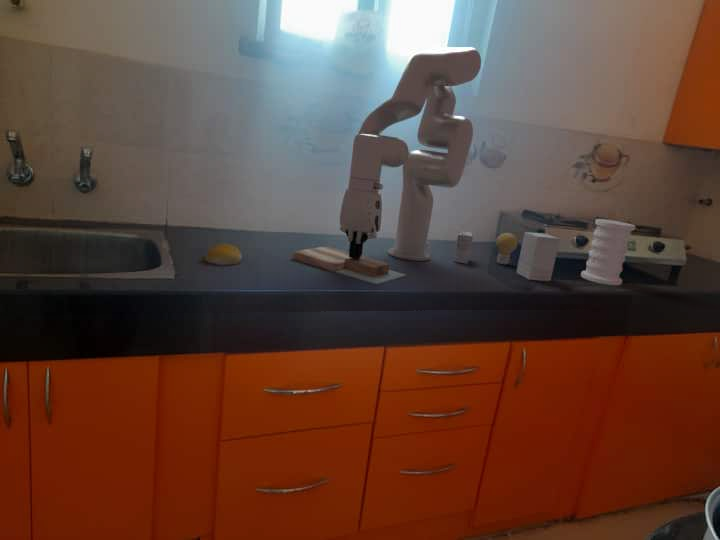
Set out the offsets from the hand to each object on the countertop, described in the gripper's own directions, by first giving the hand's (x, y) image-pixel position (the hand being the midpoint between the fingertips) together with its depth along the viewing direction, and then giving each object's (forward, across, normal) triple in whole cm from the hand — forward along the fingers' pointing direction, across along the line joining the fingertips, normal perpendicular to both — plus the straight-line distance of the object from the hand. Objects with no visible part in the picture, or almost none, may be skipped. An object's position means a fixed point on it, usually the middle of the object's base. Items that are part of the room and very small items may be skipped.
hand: (354, 257), depth 128 cm
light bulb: (+3, -22, -51) cm, 56 cm away
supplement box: (+3, -34, -43) cm, 55 cm away
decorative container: (+3, -49, -63) cm, 80 cm away
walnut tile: (+3, -4, 0) cm, 5 cm away
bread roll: (+4, +22, +24) cm, 33 cm away
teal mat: (+3, -6, 0) cm, 6 cm away
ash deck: (+3, +8, 0) cm, 8 cm away
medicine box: (+3, -12, -41) cm, 43 cm away
